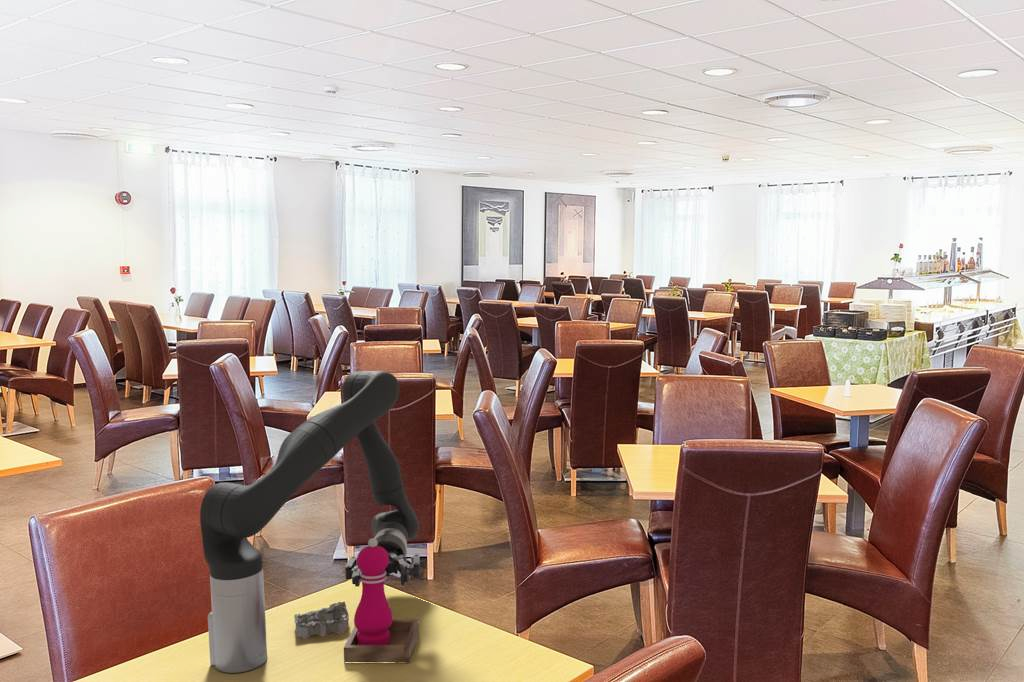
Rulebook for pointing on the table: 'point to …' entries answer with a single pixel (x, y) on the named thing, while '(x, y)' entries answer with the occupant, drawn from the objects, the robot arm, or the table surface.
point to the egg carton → (312, 621)
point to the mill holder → (396, 651)
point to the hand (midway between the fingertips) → (379, 580)
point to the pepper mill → (373, 597)
